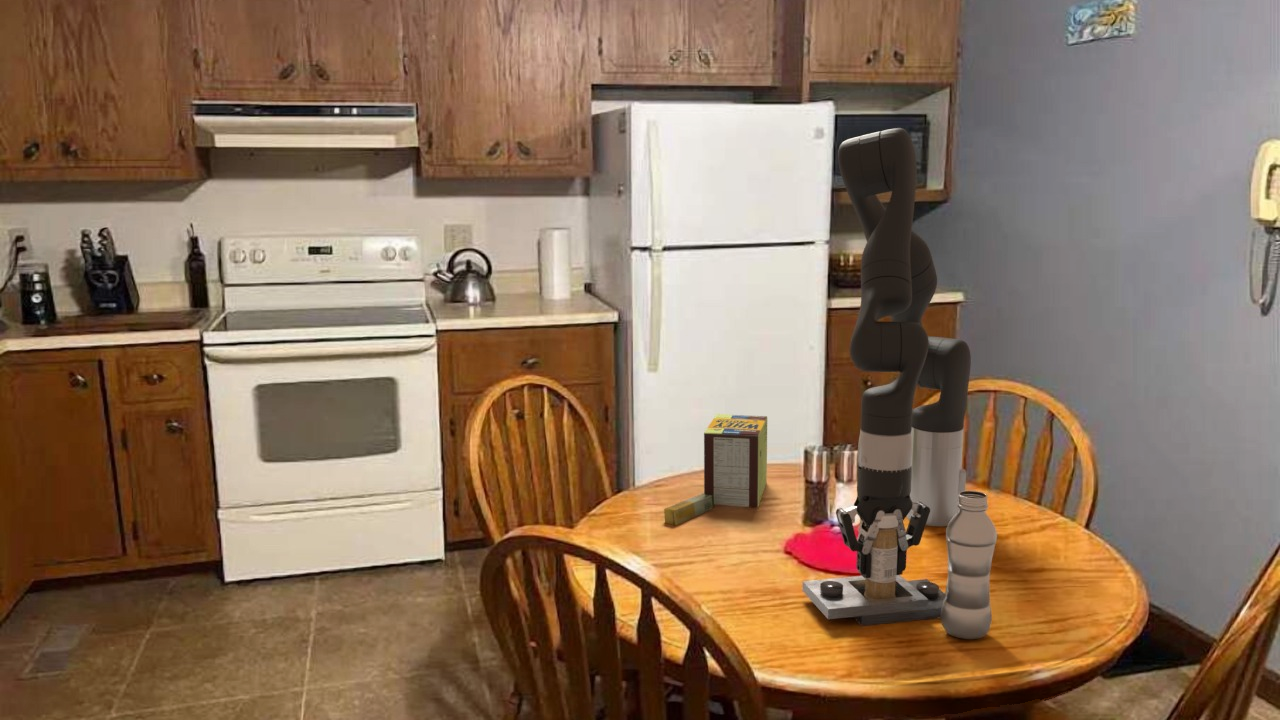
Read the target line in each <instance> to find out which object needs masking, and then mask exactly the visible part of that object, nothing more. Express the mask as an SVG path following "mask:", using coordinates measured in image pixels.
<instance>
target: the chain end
mask: <svg viewBox="0 0 1280 720" xmlns="http://www.w3.org/2000/svg"><path fill="white" fill-rule="evenodd" d="M906 581H907V582H908V583H910V584H911V585H912V586H913V587H914V588H916V589H917V590H918V591H919V592H920V593H921V594H923V595H924V596H925V597H926V598H927V599H928V609H926V610H916V611H906V612H896V613H886V614H876V615H866V616H856V617H852V618H853V619H854V620H855V621H856V622H857V623H858V624H859V625H860V626H861V627H863V626H864V627H865V626H874V625H876V626H877V625H884V624H892V623H904V622H913V621H923V620H924V621H925V620H932V619H933V620H934V619H941V609H942V604H943V601H944V598H945V592H943V591H942V590H941V589H940V586H939V584H937V583H935V582H932V581H930V580H929V579H927V578H926V579H925V578H924V579H914V580H906ZM857 591H858V592H859V593H860V594H861V595H863V596H864V593H865V589H862V590H857ZM895 595H896V598H899V597H903V596H901V595H900V594H899V593H898V592H897V591H896V590H895ZM864 597H865V596H864Z"/></svg>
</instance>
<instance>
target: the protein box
mask: <svg viewBox="0 0 1280 720" xmlns="http://www.w3.org/2000/svg"><path fill="white" fill-rule="evenodd" d="M703 451H704V452H703V473H704V474H703V489H704V491H703V494H711V495H713V503H714V505H720V506H731V507H744V508H759V506H760V503H761V501H762V497H763V495H764V492H765V489H766V486H767V474H768V473H767V472H768V471H767V470H768V416H766V415H742V414H741V415H738V414H723V413H722V414H721V413H717V414H715V416H714V418H713V419H712V421H711V422H710V423H709V424H708V427H707V428H706V429H705V430H704V433H703Z"/></svg>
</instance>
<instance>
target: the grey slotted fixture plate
mask: <svg viewBox="0 0 1280 720" xmlns="http://www.w3.org/2000/svg"><path fill="white" fill-rule="evenodd" d="M907 581H908V580H907V579H905V578H904V577H903V576H902V575H896V580H895V590H896V591H897V592H898V593H899V594H900V595H901V596H903V597H899V598H888V599H878V600H867V599H866V598H865V597H864V596H863V595H861V594H860V593H859V592H858V591H857V590H862V589H865V585H866V578H864V577H863V576H862V575H855V576H846V577H845V576H844V577H834V578H823V579H812V580H803V581H802V590H801V591H802V592H803V593H804V594H805V596H806V597H807V598H809V600H810V601H811V602H812V603H813V605H815V606H816V608H817V609H818V610H819V611H820V612H821V613H822V615H824V616H825V618H826V619H827V620H835V619H845V618H853V617H856V616H866V615H876V614H886V613H896V612H906V611H916V610H926V609H928V599H927V598H926V597H925V596H924V595H923V594H921V593H920V592H919V591H918V590H917V589H916V588H914V587H913V586H912V585H911V584H910V583H908V582H907Z"/></svg>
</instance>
